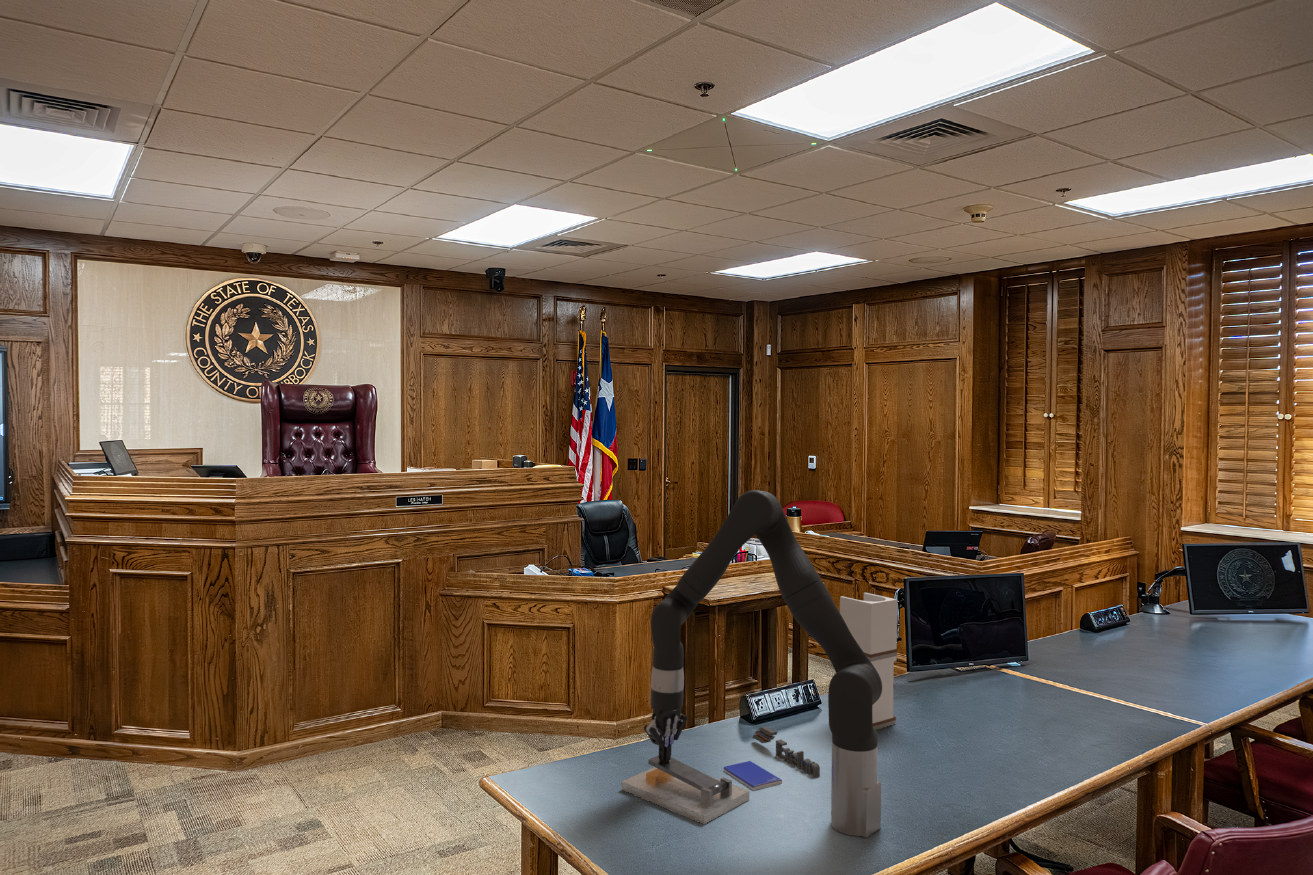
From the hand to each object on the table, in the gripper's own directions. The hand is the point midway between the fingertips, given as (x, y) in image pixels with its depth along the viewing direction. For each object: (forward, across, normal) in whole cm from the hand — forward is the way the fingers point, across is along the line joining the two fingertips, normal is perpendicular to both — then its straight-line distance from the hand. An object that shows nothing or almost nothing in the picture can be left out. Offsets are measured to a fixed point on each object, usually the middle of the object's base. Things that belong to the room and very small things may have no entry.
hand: (664, 760), depth 190 cm
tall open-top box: (+6, +71, -13) cm, 73 cm away
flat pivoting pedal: (+2, 0, -7) cm, 7 cm away
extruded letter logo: (+6, +33, -11) cm, 35 cm away
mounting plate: (+6, 0, -6) cm, 8 cm away
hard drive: (+6, +18, -12) cm, 23 cm away
